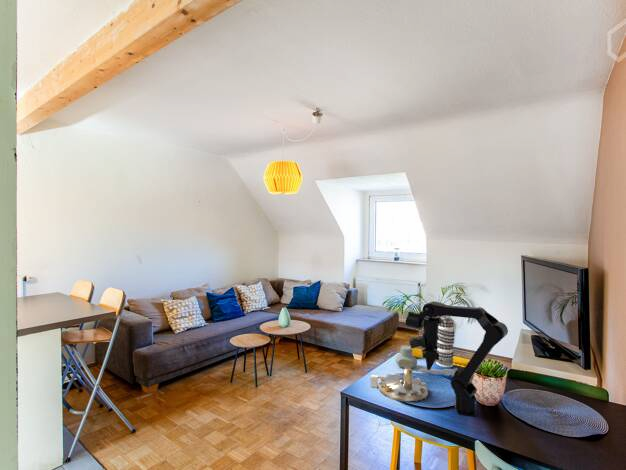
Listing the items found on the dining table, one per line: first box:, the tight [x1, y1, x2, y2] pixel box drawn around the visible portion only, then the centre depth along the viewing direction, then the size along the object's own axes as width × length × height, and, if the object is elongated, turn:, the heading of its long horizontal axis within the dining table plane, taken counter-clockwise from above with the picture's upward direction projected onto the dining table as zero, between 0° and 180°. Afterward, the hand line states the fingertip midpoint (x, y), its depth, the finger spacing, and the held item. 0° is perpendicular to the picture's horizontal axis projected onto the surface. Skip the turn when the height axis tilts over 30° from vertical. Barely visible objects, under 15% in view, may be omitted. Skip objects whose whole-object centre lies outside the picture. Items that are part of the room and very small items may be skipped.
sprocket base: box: [378, 381, 429, 402], centre depth 152 cm, size 21×21×2 cm
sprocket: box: [379, 368, 427, 397], centre depth 152 cm, size 19×19×10 cm
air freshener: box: [394, 345, 418, 369], centre depth 179 cm, size 11×8×10 cm
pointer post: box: [370, 374, 383, 389], centre depth 155 cm, size 5×2×5 cm, turn 74°
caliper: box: [416, 367, 459, 377], centre depth 168 cm, size 20×1×6 cm, turn 56°
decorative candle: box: [435, 316, 456, 368], centre depth 183 cm, size 9×9×25 cm
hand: (428, 369), depth 144 cm, fingers closed
